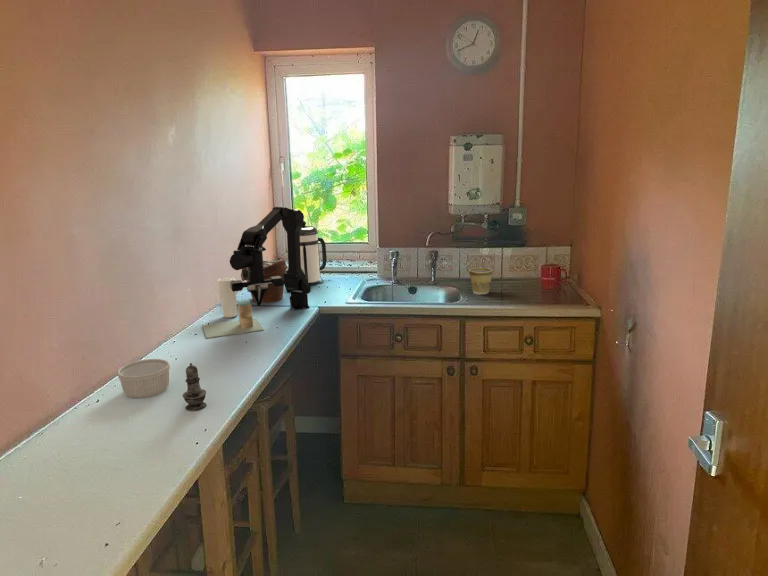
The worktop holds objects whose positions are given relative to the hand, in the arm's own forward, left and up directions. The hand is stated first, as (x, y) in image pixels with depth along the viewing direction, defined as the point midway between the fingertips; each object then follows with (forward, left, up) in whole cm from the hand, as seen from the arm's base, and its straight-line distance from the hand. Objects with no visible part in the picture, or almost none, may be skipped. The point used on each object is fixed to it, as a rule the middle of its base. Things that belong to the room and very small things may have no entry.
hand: (259, 306), depth 219 cm
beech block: (+5, 0, -7) cm, 8 cm away
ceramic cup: (-96, -3, -7) cm, 96 cm away
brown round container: (-9, -37, -7) cm, 39 cm away
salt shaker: (+27, +65, -7) cm, 71 cm away
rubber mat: (+10, 0, -7) cm, 12 cm away
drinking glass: (+9, -17, -7) cm, 21 cm away
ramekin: (+39, +48, -7) cm, 62 cm away
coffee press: (-33, -58, -7) cm, 67 cm away
